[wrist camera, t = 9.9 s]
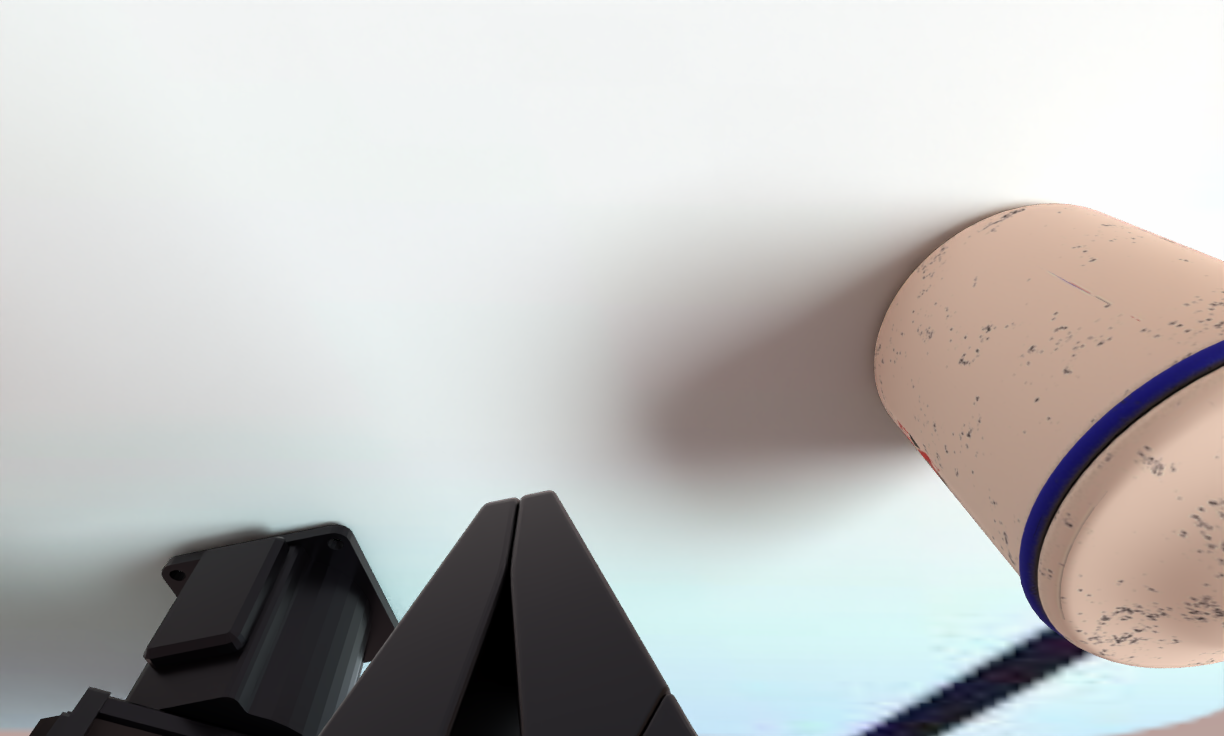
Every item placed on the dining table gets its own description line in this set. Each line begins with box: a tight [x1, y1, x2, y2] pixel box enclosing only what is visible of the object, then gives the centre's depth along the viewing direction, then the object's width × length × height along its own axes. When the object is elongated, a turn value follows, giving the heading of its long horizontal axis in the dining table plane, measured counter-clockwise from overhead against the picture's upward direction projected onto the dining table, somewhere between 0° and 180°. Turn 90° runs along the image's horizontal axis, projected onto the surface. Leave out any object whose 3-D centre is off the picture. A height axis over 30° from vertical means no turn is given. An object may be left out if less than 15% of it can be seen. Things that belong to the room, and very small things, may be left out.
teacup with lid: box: [874, 203, 1224, 668], centre depth 17 cm, size 12×9×12 cm
